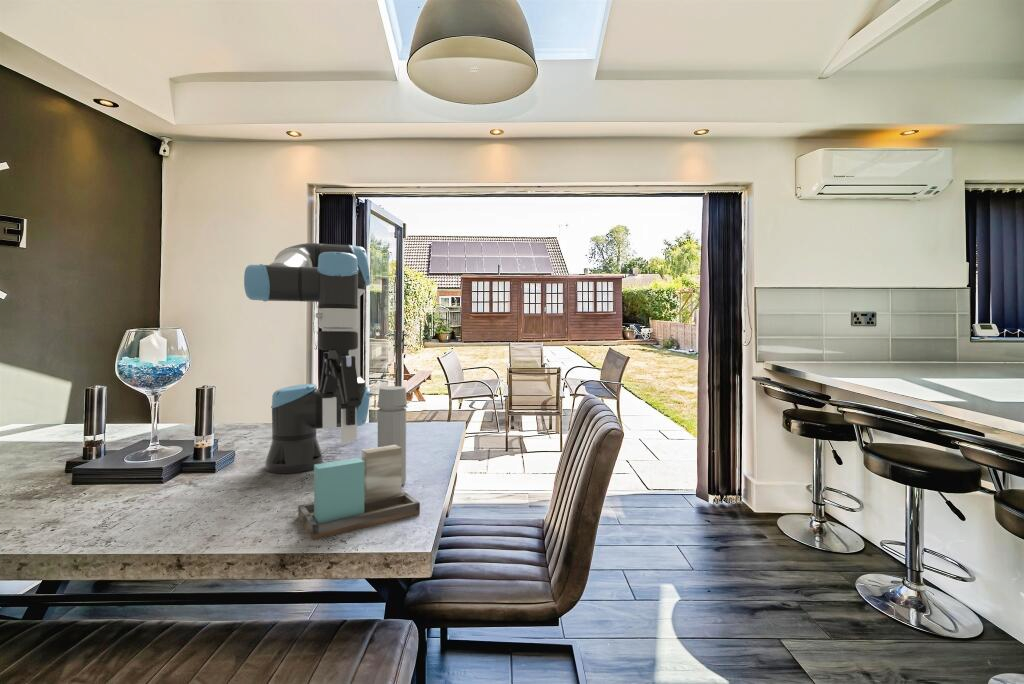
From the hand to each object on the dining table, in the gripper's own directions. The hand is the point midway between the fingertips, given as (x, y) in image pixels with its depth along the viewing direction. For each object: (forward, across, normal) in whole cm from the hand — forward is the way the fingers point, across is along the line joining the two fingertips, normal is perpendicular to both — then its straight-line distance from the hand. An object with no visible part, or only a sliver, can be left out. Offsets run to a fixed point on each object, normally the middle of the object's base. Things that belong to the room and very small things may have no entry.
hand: (338, 434), depth 96 cm
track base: (+19, -2, +5) cm, 20 cm away
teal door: (+18, +1, 0) cm, 18 cm away
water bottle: (+19, -18, +19) cm, 33 cm away
